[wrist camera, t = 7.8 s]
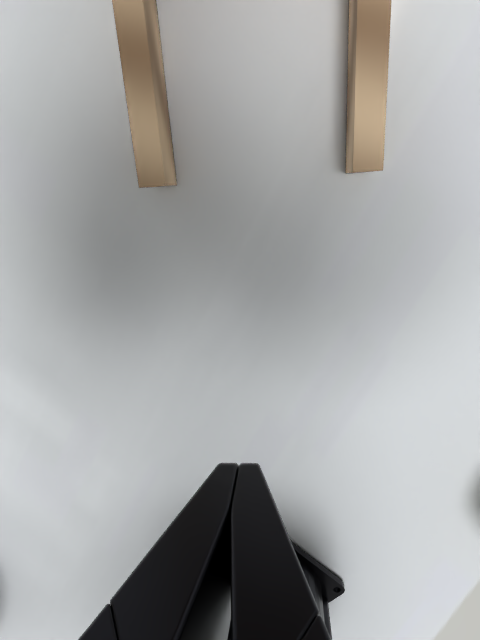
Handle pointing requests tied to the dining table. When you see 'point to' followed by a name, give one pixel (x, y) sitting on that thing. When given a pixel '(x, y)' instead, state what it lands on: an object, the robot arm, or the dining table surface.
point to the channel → (151, 99)
